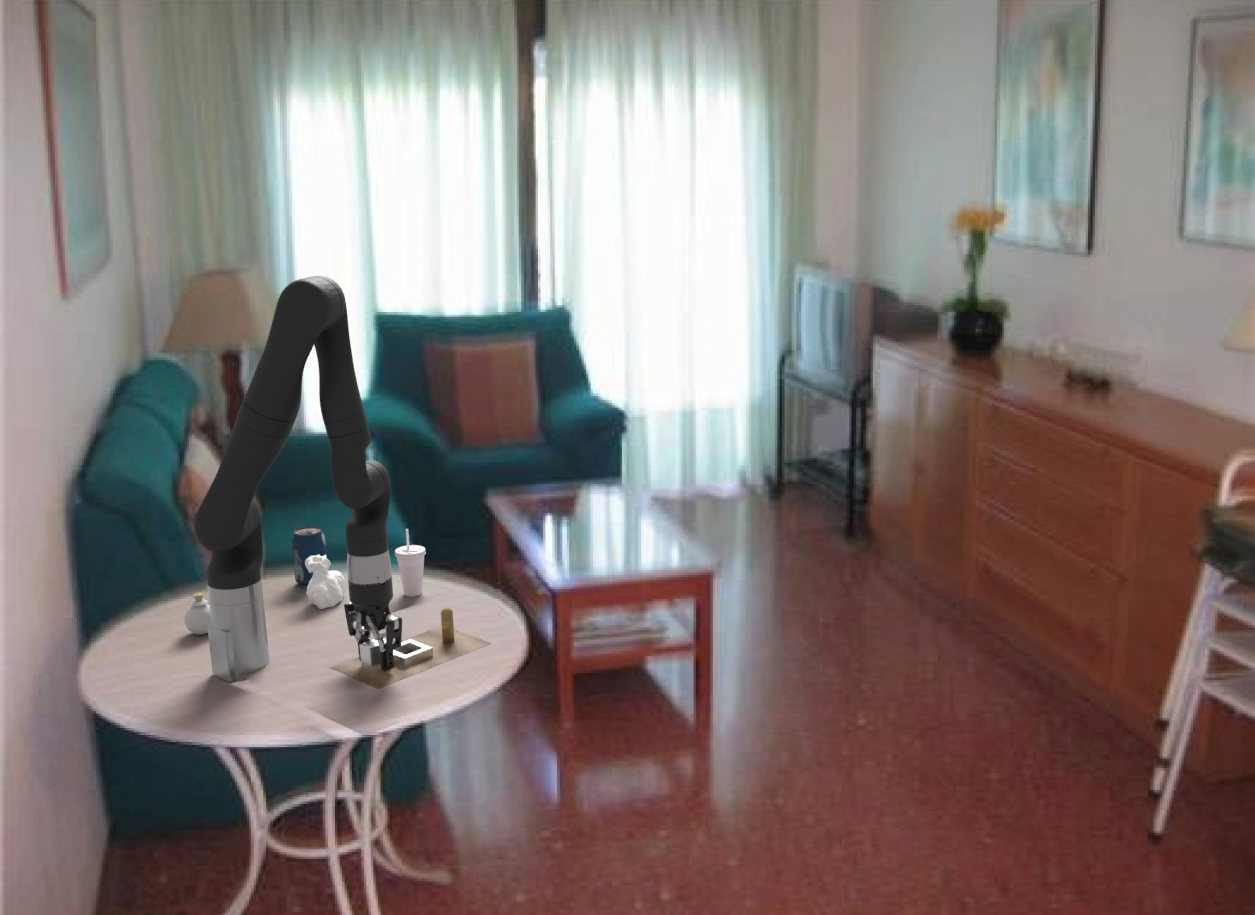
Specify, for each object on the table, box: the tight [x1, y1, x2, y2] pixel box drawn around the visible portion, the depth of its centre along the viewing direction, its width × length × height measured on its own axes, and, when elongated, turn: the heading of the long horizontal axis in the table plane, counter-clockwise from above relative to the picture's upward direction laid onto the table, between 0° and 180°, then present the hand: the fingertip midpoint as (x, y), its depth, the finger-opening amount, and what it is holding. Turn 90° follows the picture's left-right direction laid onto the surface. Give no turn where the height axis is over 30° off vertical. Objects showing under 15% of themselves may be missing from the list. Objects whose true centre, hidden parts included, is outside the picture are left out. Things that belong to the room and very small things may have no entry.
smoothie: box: [394, 528, 427, 597], centre depth 270 cm, size 6×6×14 cm
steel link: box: [360, 637, 433, 675], centre depth 232 cm, size 12×6×5 cm, turn 137°
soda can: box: [291, 526, 328, 589], centre depth 277 cm, size 7×7×12 cm
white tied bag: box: [305, 554, 347, 610], centre depth 267 cm, size 12×8×11 cm
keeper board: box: [330, 607, 492, 690], centre depth 235 cm, size 26×14×8 cm, turn 137°
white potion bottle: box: [184, 585, 212, 636], centre depth 251 cm, size 6×7×10 cm
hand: (376, 664), depth 230 cm, fingers open, 5 cm apart
